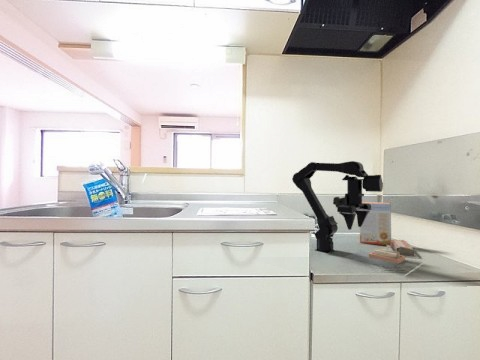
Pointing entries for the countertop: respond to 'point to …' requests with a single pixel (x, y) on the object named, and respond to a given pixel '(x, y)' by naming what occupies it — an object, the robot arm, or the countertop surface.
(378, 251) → the cream rectangular prism
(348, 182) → the robot arm
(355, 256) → the mat
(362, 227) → the cracker box
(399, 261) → the frame
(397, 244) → the packaged product
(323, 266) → the countertop surface
